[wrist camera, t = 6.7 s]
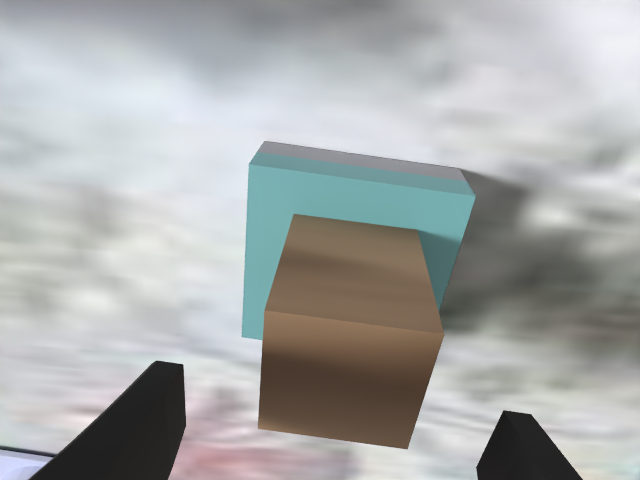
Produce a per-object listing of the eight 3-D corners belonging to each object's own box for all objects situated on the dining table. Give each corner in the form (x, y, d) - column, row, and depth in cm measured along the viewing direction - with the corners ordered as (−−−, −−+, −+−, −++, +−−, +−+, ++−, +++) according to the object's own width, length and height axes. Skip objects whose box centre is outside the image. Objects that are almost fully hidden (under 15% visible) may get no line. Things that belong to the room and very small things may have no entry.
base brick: (414, 321, 19) (422, 363, 17) (255, 298, 19) (242, 336, 17) (459, 168, 15) (476, 196, 13) (264, 141, 15) (249, 164, 13)
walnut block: (393, 325, 16) (407, 449, 11) (285, 311, 16) (258, 428, 12) (417, 229, 14) (444, 334, 10) (293, 213, 14) (263, 310, 10)
